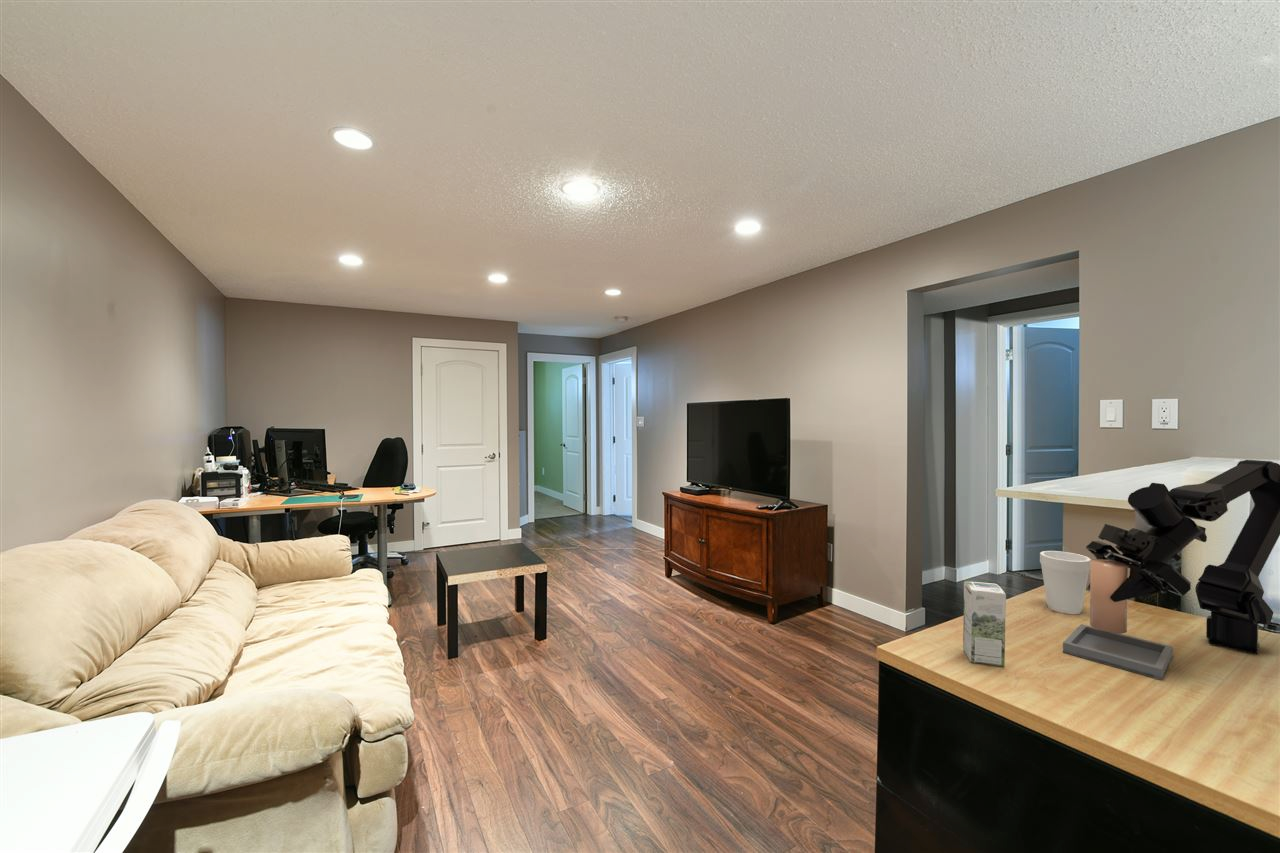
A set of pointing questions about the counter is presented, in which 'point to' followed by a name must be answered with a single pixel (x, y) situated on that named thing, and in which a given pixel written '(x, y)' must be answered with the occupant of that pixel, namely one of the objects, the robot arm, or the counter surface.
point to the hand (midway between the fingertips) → (1100, 594)
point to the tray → (1120, 651)
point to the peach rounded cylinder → (1107, 596)
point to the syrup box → (984, 623)
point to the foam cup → (1065, 580)
